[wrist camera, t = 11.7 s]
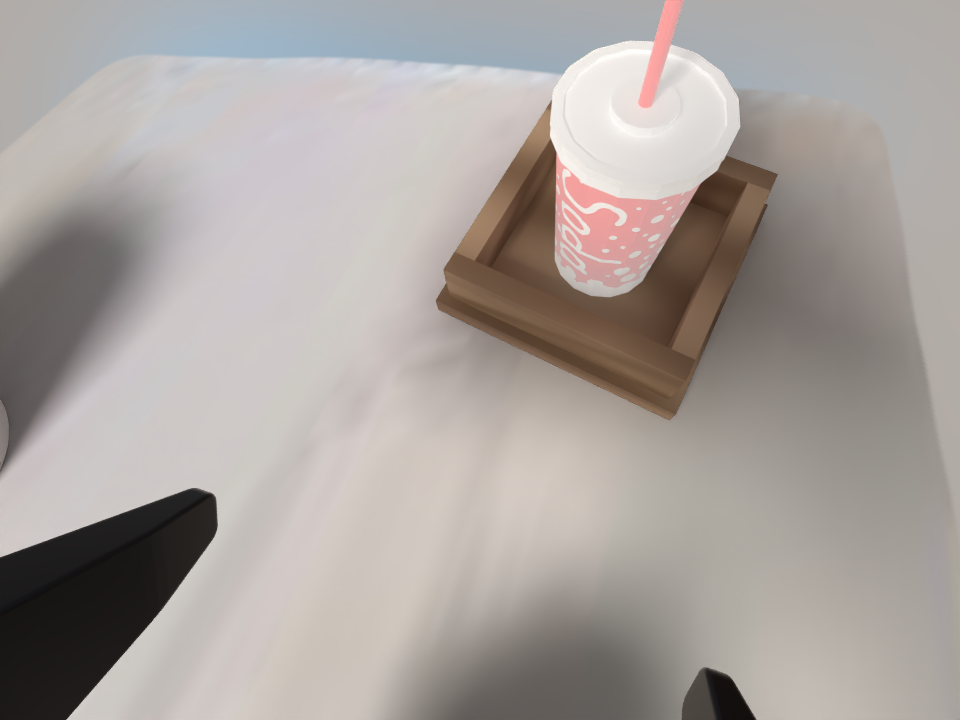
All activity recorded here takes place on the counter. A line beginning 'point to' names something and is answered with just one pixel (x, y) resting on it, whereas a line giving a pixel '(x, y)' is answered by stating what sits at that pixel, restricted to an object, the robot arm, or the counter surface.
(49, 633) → the robot arm
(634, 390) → the tray
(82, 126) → the counter surface
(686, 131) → the beverage cup
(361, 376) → the counter surface
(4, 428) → the grey upright cylinder
